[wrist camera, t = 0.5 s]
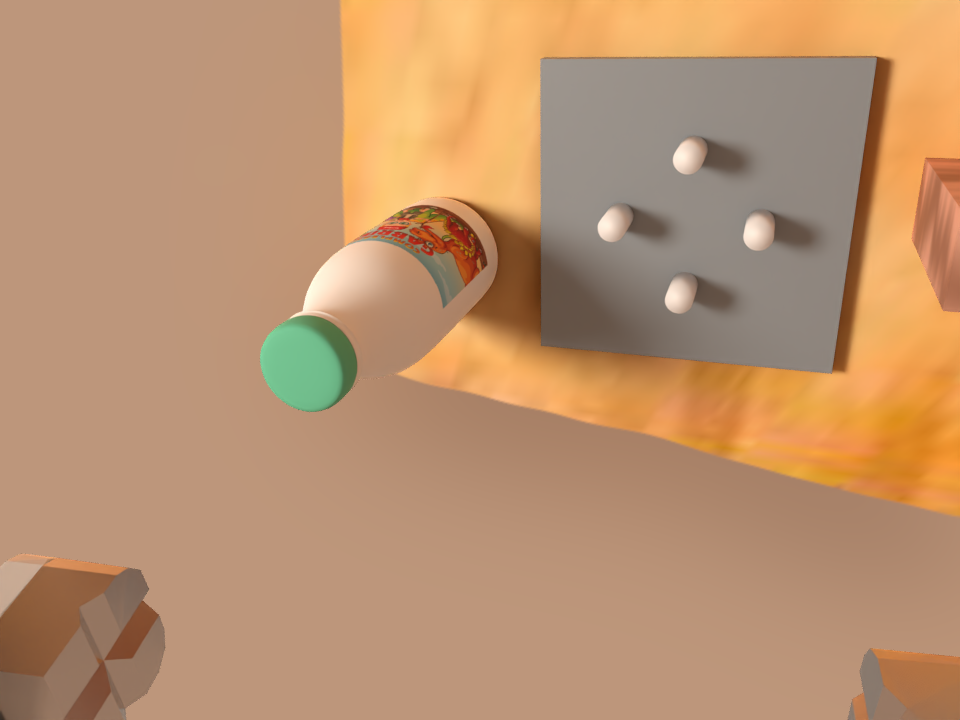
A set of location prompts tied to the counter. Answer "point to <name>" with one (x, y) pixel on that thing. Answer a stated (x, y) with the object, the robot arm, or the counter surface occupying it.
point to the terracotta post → (940, 229)
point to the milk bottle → (381, 303)
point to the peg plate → (700, 204)
